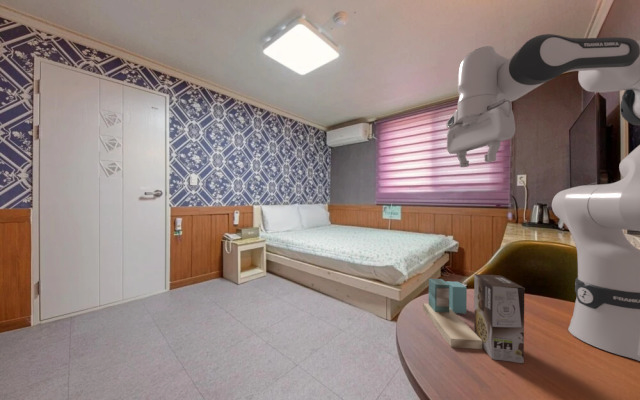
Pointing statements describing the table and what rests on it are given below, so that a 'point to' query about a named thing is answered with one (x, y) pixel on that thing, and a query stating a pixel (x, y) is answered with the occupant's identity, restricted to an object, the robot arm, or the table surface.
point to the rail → (448, 318)
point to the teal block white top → (457, 297)
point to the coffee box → (499, 317)
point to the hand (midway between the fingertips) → (476, 164)
